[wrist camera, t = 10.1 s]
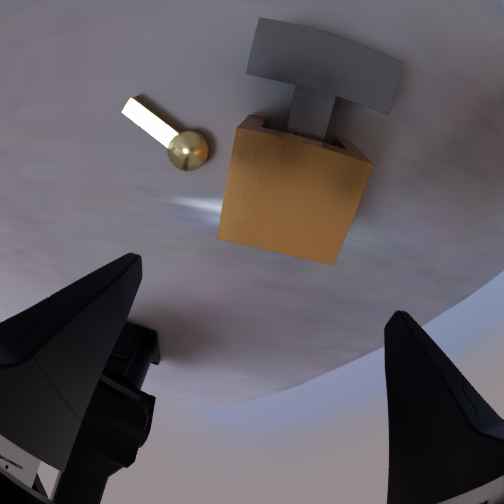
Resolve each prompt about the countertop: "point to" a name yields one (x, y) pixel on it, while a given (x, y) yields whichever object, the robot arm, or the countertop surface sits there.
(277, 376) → the countertop surface
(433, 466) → the robot arm
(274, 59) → the hammer
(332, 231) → the wooden u-channel block
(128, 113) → the brass measuring spoon
